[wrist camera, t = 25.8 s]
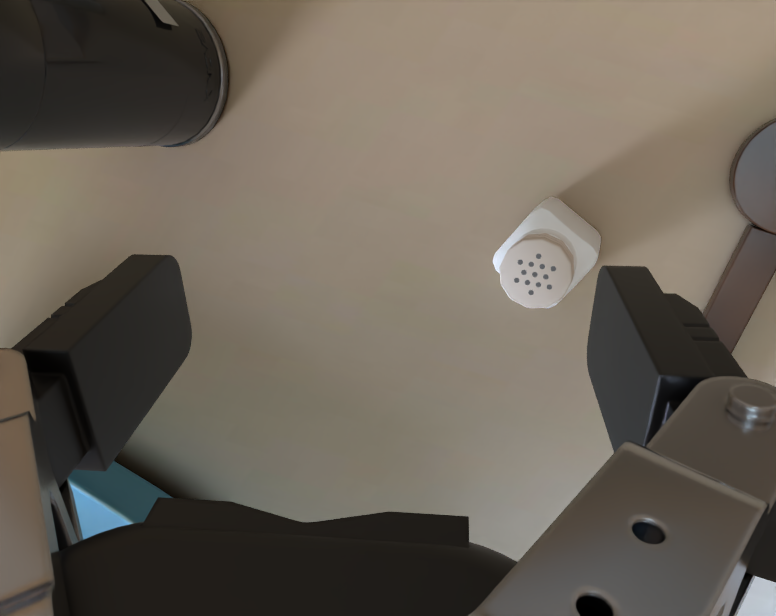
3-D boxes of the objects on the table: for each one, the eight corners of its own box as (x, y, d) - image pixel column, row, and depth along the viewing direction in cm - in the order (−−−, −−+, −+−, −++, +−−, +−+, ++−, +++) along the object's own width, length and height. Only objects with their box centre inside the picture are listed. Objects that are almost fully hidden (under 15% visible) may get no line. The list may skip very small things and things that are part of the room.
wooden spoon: (698, 483, 37) (700, 494, 36) (599, 441, 38) (598, 451, 37) (894, 132, 29) (905, 132, 28) (763, 96, 31) (768, 95, 30)
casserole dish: (-67, 515, 65) (-143, 558, 58) (-56, 331, 56) (-143, 357, 50) (227, 708, 57) (177, 782, 50) (290, 527, 49) (240, 589, 42)
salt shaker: (606, 236, 35) (602, 271, 26) (557, 287, 37) (538, 335, 28) (551, 190, 35) (530, 210, 27) (506, 243, 37) (472, 277, 28)
